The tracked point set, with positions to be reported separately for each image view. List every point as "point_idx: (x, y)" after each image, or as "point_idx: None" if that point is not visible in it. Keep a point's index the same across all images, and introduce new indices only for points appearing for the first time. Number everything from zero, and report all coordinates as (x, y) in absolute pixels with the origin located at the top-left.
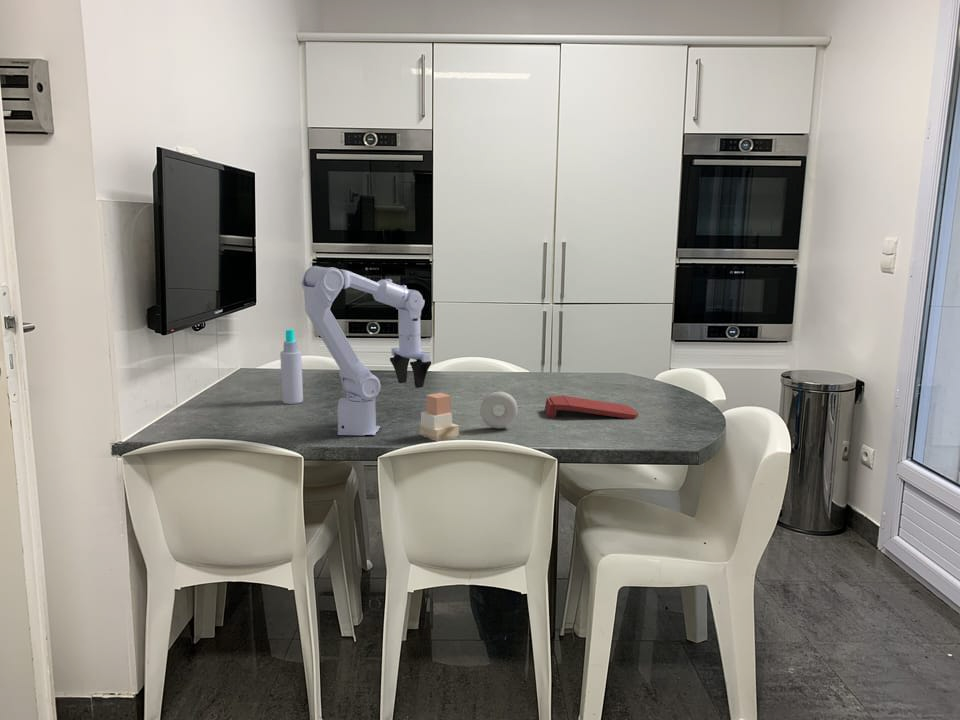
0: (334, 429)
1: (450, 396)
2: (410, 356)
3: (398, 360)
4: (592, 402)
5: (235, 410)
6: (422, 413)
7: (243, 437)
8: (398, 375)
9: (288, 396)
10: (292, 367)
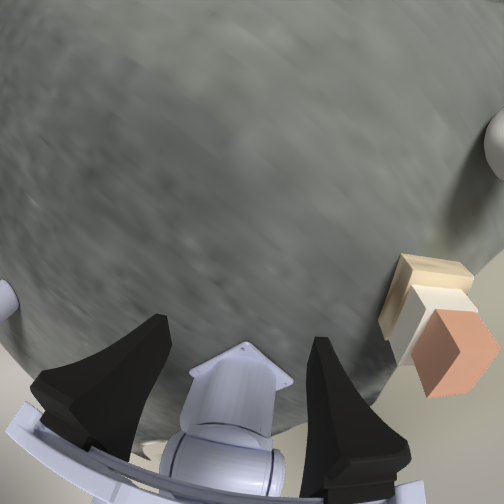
0: (190, 383)
1: (498, 348)
2: (204, 501)
3: (119, 444)
4: None
5: (39, 361)
6: (404, 364)
7: (162, 434)
8: (156, 379)
9: (11, 314)
10: None
